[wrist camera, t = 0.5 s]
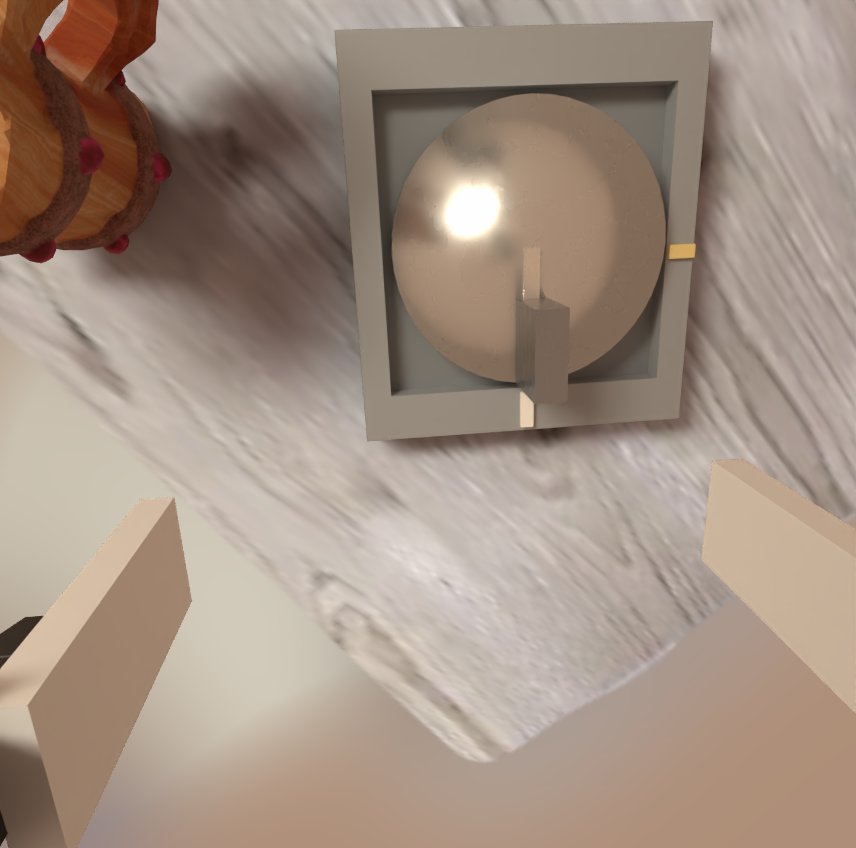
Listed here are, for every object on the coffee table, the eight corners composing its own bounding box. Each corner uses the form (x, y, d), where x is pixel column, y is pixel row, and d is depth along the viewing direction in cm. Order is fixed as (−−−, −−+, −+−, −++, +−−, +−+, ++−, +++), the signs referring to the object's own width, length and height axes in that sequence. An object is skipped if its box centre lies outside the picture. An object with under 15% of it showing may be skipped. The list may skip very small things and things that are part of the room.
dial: (382, 105, 31) (386, 80, 25) (657, 96, 32) (721, 70, 26) (398, 381, 35) (405, 413, 30) (640, 365, 36) (691, 393, 31)
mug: (123, 288, 34) (-50, 341, 20) (-26, 193, 32) (-340, 174, 18) (270, 43, 31) (191, -102, 17) (116, -80, 29) (-122, -365, 15)
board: (337, 45, 31) (334, 28, 29) (685, 36, 33) (716, 19, 30) (367, 426, 38) (367, 443, 35) (658, 405, 39) (681, 419, 36)
